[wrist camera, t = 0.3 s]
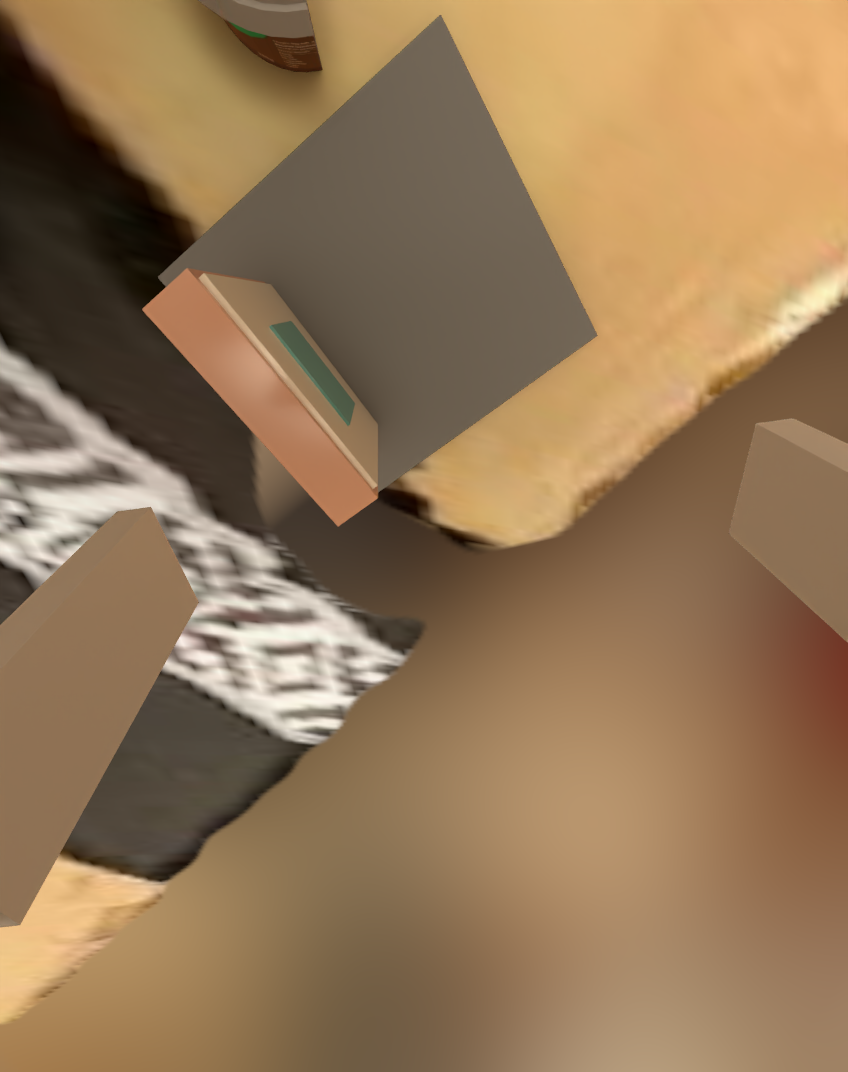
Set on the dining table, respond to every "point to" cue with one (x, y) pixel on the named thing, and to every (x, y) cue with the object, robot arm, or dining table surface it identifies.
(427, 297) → the mat
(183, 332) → the tile
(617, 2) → the dining table surface
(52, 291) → the dining table surface
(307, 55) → the food container
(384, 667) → the dining table surface
